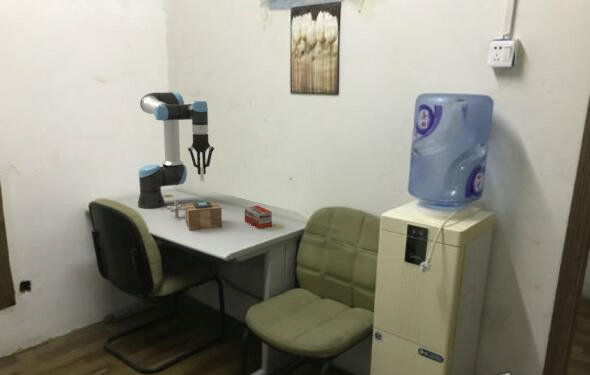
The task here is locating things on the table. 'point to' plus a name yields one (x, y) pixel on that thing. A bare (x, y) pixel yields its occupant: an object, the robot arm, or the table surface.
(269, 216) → the medicine box
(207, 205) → the collar
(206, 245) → the table surface
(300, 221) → the table surface
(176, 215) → the pipe connector
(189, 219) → the socket block
